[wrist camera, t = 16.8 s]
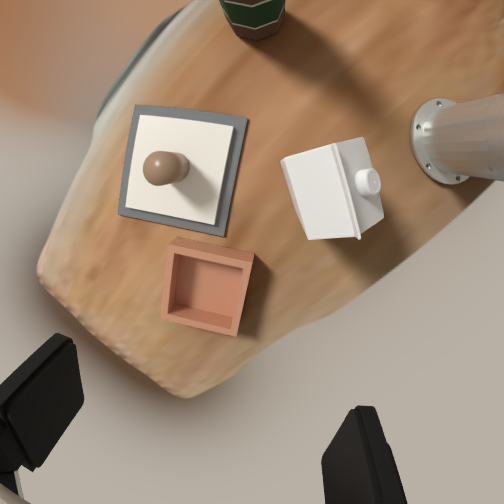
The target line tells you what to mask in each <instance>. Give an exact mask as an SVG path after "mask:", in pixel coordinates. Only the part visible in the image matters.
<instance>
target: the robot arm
mask: <svg viewBox="0 0 504 504" xmlns="http://www.w3.org/2000/svg"><path fill="white" fill-rule="evenodd" d="M416 127H417V129H416ZM410 138H411V146H412V149H413V153H414V155H415V158H416V160H417V162H418V164H419V165H420V167H421V168H422V169H423V171H424V172H425V173H426V174H427V175H428V176H430V177H431V178H432V179H434V180H436V181H438V182H440V183H444V184H450V185H453V184H459V183H462V182H464V181H465V180H467V179H468V178H469V177H470V176H472V177H479V178H486V179H492V180H499V181H504V93H502V94H498V95H493V96H489V97H484V98H480V99H476V100H472V101H468V102H464V103H460V104H457V103H456V102H454V101H451V100H449V99H443V98H439V99H433V100H430V101H428V102H426V103H424V104H423V105H422V106H421V107H419V109H418V110H417V112H416V113H415V115H414V117H413V120H412V124H411V130H410ZM426 165H427V167H426ZM83 403H84V394H83V389H82V383H81V378H80V371H79V364H78V358H77V350H76V345H75V344H73V341H72V339H71V338H69V337H66V336H64V335H62V334H59V333H56V334H54V335H53V336H52V337H51V338H49V340H47V341H46V342H45V343H44V344H43V345H42V346H41V347H40V348H38V349H37V350H36V351H35V352H34V353H33V354H32V355H31V356H30V357H29V358H28V359H27V360H26V361H24V362H23V363H22V364H21V365H20V366H19V367H18V368H17V369H16V370H15V371H14V372H13V373H12V374H11V375H10V376H9V377H8V378H7V379H6V380H5V381H4V382H3V383H2V384H1V385H0V504H30V503H29V502H27V501H26V500H24V497H23V493H22V488H21V484H20V479H19V474H18V469H19V467H20V466H21V465H23V466H24V467H26V468H27V469H29V470H30V471H32V472H33V471H34V470H35V468H36V467H37V468H39V467H41V465H42V464H43V463H44V461H45V460H46V458H47V457H48V455H49V454H50V452H51V451H52V449H53V448H54V446H55V444H56V443H57V442H58V440H59V439H60V437H61V436H62V434H63V433H64V431H65V430H66V428H67V427H68V426H69V424H70V422H71V421H72V420H73V418H74V417H75V416H76V414H77V413H78V411H79V410H80V408H81V407H82V405H83ZM321 465H322V474H323V484H324V495H325V504H407V500H406V497H405V493H404V490H403V486H402V483H401V479H400V476H399V473H398V470H397V466H396V463H395V460H394V457H393V454H392V450H391V448H390V446H389V444H388V443H387V442H386V439H385V436H384V433H383V429H382V426H381V424H380V420H379V418H378V415H377V412H376V409H375V408H374V407H373V406H356V407H355V409H351V410H350V411H349V413H348V415H347V416H346V418H345V420H344V422H343V423H342V425H341V427H340V428H339V430H338V431H337V433H336V435H335V437H334V438H333V440H332V441H331V443H330V445H329V446H328V448H327V449H326V451H325V452H324V454H323V456H322V461H321Z"/></svg>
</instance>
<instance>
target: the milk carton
mask: <svg viewBox="0 0 504 504" xmlns="http://www.w3.org/2000/svg"><path fill="white" fill-rule="evenodd" d="M280 163H281V166H282V169H283V172H284V176H285V179H286V182H287V185H288V188H289V192H290V195H291V198H292V201H293V205H294V208H295V211H296V213H297V215H298V218H299V220H300V222H301V224H302V226H303V229H304V231H305V233H306V235H307V237H308V239H309V240H313V239H328V238H342V237H356V238H357V239H358V240H360V239H361V235H360V234H361V233H363V232H364V231H366V230H367V229H368V228H370V227H371V226H373V225H374V224H376V223H377V222H379V221H380V220H382V219H383V218H384V213H383V208H382V203H381V199H380V195H379V192H380V189H381V182H380V178H379V175H378V173H377V171H376V170H375V169H373V167H372V163H371V160H370V156H369V153H368V149H367V146H366V143H365V140H364V138H363V137H360V138H356V139H351V140H347V141H343V142H338V143H333V144H330V145H327V146H323V147H319V148H316V149H312V150H309V151H306V152H302V153H299V154H295V155H292V156H289V157H286V158H284V159H282V160H281V161H280Z"/></svg>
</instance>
